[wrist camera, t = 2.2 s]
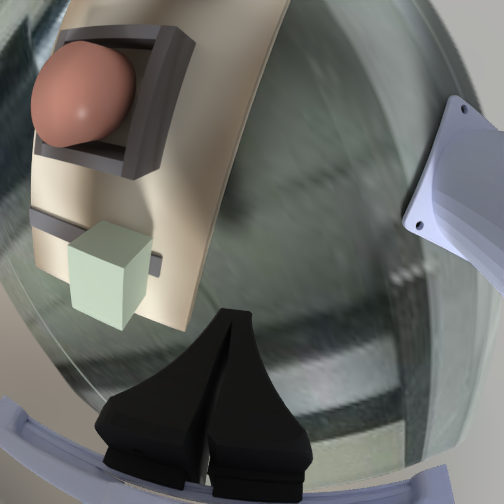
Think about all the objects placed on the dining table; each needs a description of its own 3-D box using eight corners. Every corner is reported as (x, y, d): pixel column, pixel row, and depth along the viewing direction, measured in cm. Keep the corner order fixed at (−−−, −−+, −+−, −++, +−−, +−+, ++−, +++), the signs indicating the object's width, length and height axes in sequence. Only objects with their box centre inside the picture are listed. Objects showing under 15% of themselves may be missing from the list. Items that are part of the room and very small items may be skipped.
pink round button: (154, 53, 8) (122, 39, 6) (129, 146, 10) (93, 155, 8) (81, 51, 8) (44, 44, 6) (62, 132, 10) (25, 141, 7)
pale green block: (153, 237, 13) (123, 268, 10) (145, 295, 14) (122, 330, 12) (102, 220, 13) (67, 245, 10) (100, 276, 14) (72, 307, 11)
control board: (307, -38, 7) (313, -79, 4) (191, 316, 17) (172, 361, 14) (111, -44, 7) (77, -66, 3) (48, 256, 17) (14, 284, 13)
